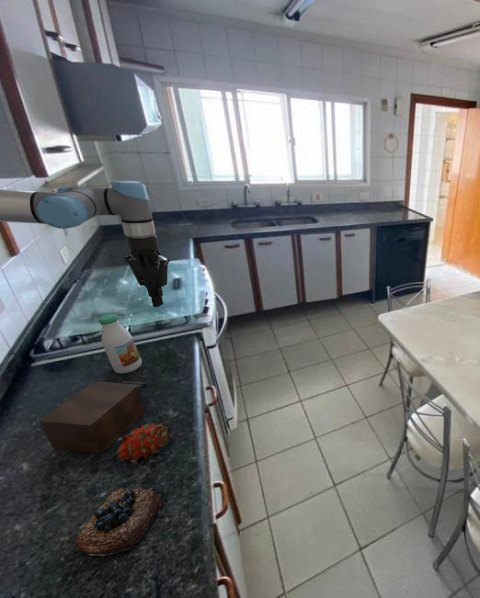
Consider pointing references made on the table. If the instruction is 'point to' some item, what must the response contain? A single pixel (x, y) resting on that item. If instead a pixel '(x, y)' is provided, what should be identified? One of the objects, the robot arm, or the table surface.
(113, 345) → the milk bottle
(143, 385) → the drawer
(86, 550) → the pastry
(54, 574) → the table surface
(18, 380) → the table surface
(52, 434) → the cabinet
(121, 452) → the dragon fruit
